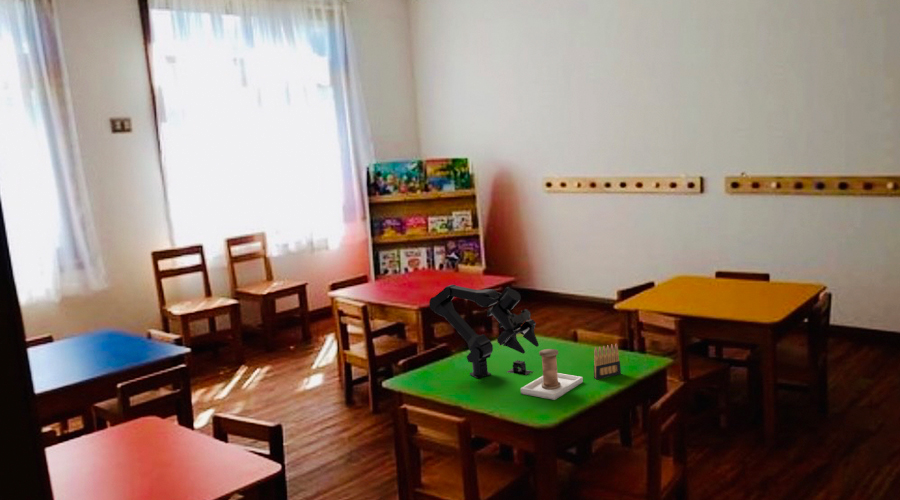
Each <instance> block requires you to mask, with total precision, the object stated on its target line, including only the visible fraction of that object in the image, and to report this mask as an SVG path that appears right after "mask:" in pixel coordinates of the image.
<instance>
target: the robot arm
mask: <svg viewBox="0 0 900 500" xmlns="http://www.w3.org/2000/svg"><path fill="white" fill-rule="evenodd" d="M454 298H457V299H463V300H467V301H472V302H474V303H475V304H477V305H478V306H480V307H483V308H487V313H486V314H487V315H486V317H491V316H493V318H495V319H496V321H497V322H498V323H499V324H498V327H499V328H502V329H504V330H503V331H502V332H501V334H499V336H498V337H496V340H497V343H498V344H499V346H502V345H503V347H507V348H510V349H512V350H514V351H517V352H519V353H520V354H523V355H524V354H525V353H526V350H525V349H524V348H523V346H522V345H521V343H520V342H519V341H518V339H517V335H518V334H520V335H522V337H523V338H524V339H525V340H527V341H528V342H529V343H530V344H532V345H533V346H535V347H537V348H538V347H539V341H538V339H537V337H536V334H535V328H536V325H537V322H536V321H535V320H534V319H531V315H532V314H531V313H532V312H530V310H528V308H525V309H522V310H520V311H521V312H520V313H519V314H518V315H517V314H516V313H512V312H511V310H512V309H514V307H515V306H517V304H518V303H519V302H520V301H521V299H522V297H521V294H520V292H519V291H517V290H515V289H512V288H511V287H510V286H507V287H505V288H504V289H503V291H502V293H501V292H498V291H497V290H495V289H493V288H492V289H491V288H490V289H489V288H485V289H474V288H470V287H464V286H459V285H456V284H450V285H447V286H445V287H444V288H443V289H442V290H440V292H438V293H437V294H436V295H435V296H432V297H431V298H430V299H429V308H430V309H431V311H433V312H434V313H435V314H437V315H439V316H441V317H443V318H445V320H446V321H448V323H449V324H450V325H451V326H452V327H453V328H454V329H455V330H456V331H457V333H458V334H459V335H460V336H461V337H462V339H464V340H465V341H466V343H467V347H468V349H469V351H470V352H469V353H468V355H466V360H467V362H468V363H472V364H471V365H472V372H469V375H470V376H472V377H475V378H476V379H480V378H483V377H489V376H491V375H492V373H491V372H490V371H489V370H488V361H487V359H489V358H491V356H492V353H493V351H494V346H493V343H492V342H491V341H492V340H490V339H489V338H488V337H487V336H486V335H485V334H484V333H482V334H481V335H480V334H478V333H476V332H475V330H474V329H473V328H472V327H471V326H470V325H469V323H467V322H466V321H465V320H464V318H462V316H461V315H460V314H459V313H458V312H457V311H456V310H455V308H454V304H453V301H452V300H454ZM490 306H491V307H490ZM488 307H489V308H488Z"/></svg>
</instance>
